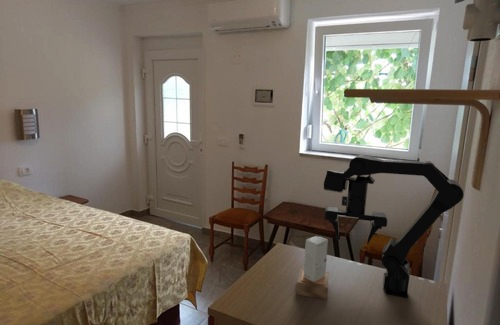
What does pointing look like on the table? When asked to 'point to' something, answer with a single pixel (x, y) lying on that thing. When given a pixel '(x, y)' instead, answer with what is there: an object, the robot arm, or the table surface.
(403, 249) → the robot arm
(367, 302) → the table surface
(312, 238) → the skincare box
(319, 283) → the walnut stand
